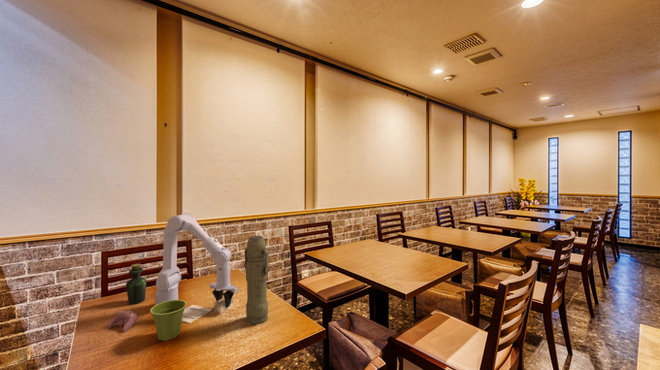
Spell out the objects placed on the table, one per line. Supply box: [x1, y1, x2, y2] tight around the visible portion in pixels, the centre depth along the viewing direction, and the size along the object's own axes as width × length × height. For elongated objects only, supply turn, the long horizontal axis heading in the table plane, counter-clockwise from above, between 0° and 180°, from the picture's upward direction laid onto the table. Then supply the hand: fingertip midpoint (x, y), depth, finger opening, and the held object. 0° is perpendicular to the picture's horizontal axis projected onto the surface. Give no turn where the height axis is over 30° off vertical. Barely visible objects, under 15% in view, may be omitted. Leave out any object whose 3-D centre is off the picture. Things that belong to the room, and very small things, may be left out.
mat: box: [182, 304, 213, 324], centre depth 119 cm, size 12×12×1 cm
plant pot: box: [149, 299, 187, 342], centre depth 103 cm, size 12×12×11 cm
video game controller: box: [107, 310, 138, 333], centre depth 109 cm, size 10×5×7 cm, turn 71°
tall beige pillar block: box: [213, 296, 235, 315], centre depth 124 cm, size 4×8×4 cm, turn 157°
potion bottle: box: [125, 263, 147, 305], centre depth 131 cm, size 8×8×18 cm
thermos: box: [244, 235, 270, 326], centre depth 114 cm, size 9×12×35 cm
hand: (223, 305), depth 124 cm, fingers closed on tall beige pillar block, 4 cm apart
